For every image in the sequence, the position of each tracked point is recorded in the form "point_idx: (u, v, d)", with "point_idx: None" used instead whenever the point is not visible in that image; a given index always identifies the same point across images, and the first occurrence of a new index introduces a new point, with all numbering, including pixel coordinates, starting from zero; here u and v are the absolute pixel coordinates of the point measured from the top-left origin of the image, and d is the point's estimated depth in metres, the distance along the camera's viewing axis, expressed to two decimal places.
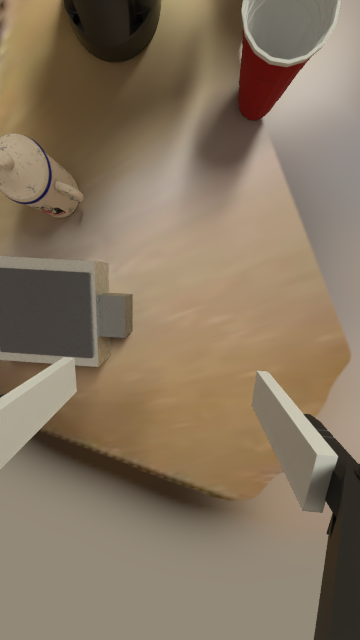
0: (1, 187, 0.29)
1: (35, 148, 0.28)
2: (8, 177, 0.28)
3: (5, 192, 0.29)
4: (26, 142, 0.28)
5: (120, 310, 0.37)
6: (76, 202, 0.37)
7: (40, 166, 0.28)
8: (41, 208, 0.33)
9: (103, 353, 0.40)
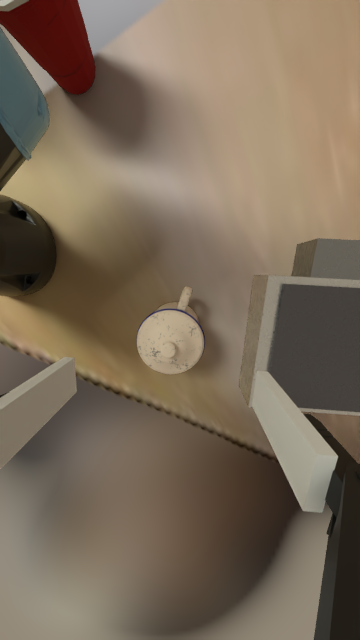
0: (189, 365, 0.25)
1: (151, 319, 0.24)
2: (183, 351, 0.24)
3: (194, 361, 0.25)
4: (146, 328, 0.25)
5: (337, 246, 0.26)
6: None
7: (169, 316, 0.24)
8: None
9: None
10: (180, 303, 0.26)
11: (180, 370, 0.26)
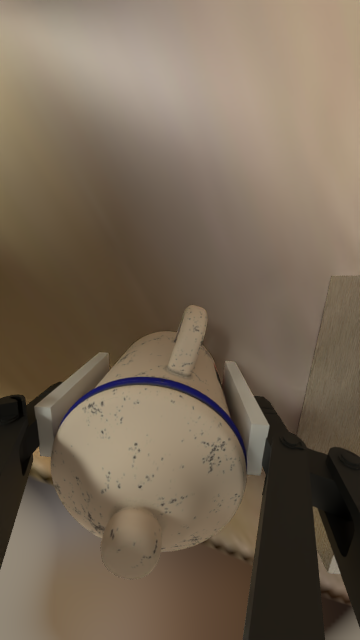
0: (203, 537, 0.09)
1: (84, 417, 0.08)
2: (185, 528, 0.07)
3: (218, 529, 0.09)
4: (69, 442, 0.08)
5: None
6: None
7: (140, 410, 0.07)
8: None
9: None
10: (176, 356, 0.09)
11: (177, 548, 0.09)
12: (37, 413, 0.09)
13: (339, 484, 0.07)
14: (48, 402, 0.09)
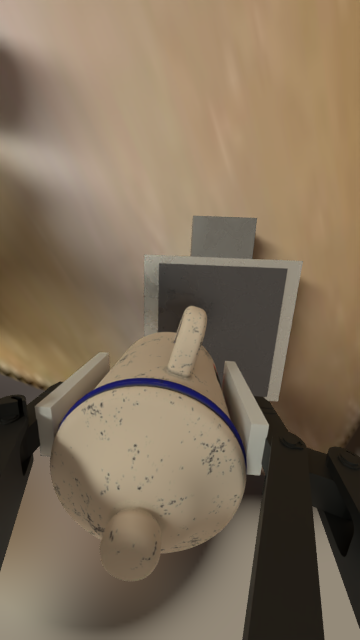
0: (203, 538, 0.09)
1: (84, 418, 0.08)
2: (185, 530, 0.07)
3: (218, 530, 0.09)
4: (69, 443, 0.08)
5: (213, 223, 0.25)
6: None
7: (139, 412, 0.07)
8: None
9: None
10: (176, 357, 0.09)
11: (176, 549, 0.09)
12: (38, 413, 0.09)
13: (338, 484, 0.07)
14: (49, 402, 0.09)
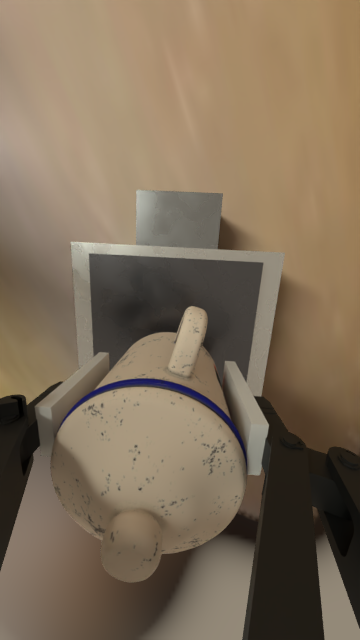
0: (204, 539, 0.09)
1: (84, 419, 0.08)
2: (185, 531, 0.07)
3: (218, 531, 0.09)
4: (69, 444, 0.08)
5: (164, 201, 0.18)
6: None
7: (140, 412, 0.07)
8: None
9: None
10: (176, 357, 0.09)
11: (177, 550, 0.09)
12: (37, 413, 0.09)
13: (338, 484, 0.07)
14: (48, 402, 0.09)
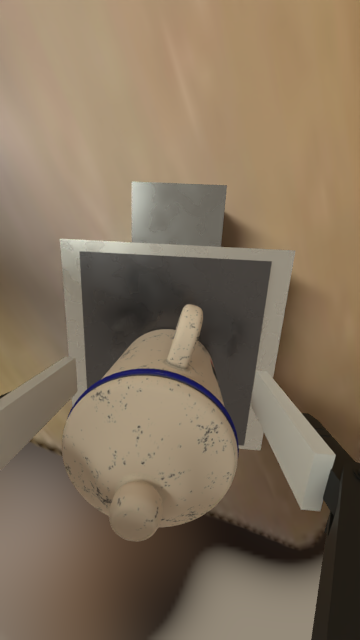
0: (199, 512, 0.10)
1: (93, 404, 0.09)
2: (183, 501, 0.08)
3: (212, 505, 0.10)
4: (79, 426, 0.09)
5: (162, 194, 0.17)
6: None
7: (142, 398, 0.08)
8: None
9: None
10: (174, 350, 0.10)
11: (175, 523, 0.10)
12: None
13: None
14: None
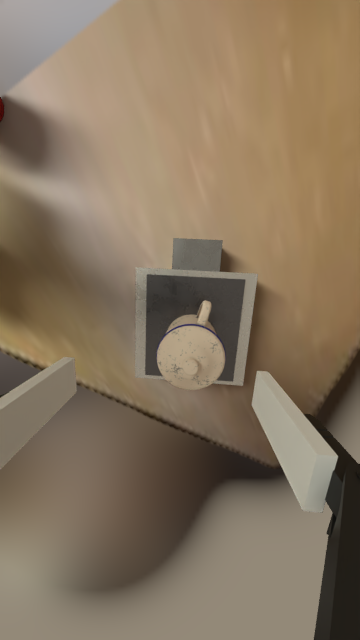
0: (210, 381, 0.25)
1: (172, 335, 0.24)
2: (205, 368, 0.24)
3: (215, 377, 0.25)
4: (166, 344, 0.24)
5: (189, 244, 0.32)
6: None
7: (190, 332, 0.24)
8: None
9: None
10: (200, 318, 0.26)
11: (201, 386, 0.25)
12: None
13: None
14: None
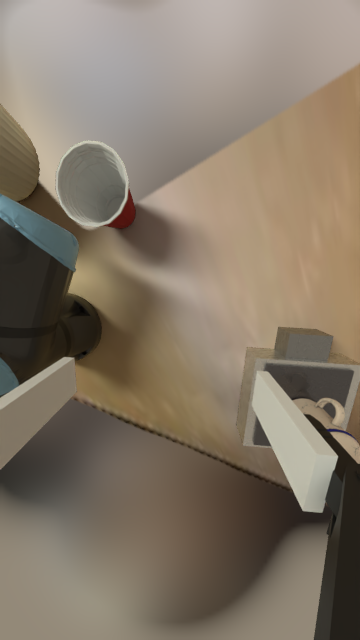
0: None
1: None
2: None
3: None
4: None
5: (303, 338, 0.37)
6: (314, 402, 0.37)
7: (337, 439, 0.29)
8: None
9: (343, 359, 0.39)
10: (337, 421, 0.31)
11: None
12: None
13: None
14: None
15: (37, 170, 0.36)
